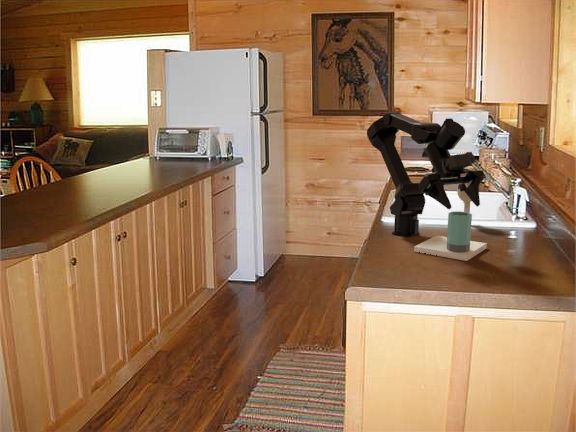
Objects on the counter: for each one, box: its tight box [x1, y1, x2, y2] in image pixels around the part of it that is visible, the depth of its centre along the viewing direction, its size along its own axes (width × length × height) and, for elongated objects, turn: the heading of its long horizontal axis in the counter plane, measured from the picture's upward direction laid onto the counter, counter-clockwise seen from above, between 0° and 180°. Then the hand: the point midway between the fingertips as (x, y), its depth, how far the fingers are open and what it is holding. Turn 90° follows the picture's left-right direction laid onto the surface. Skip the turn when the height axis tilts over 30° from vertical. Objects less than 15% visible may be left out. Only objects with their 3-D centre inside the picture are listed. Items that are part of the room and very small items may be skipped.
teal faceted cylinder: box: [446, 211, 473, 253], centre depth 166 cm, size 6×6×10 cm
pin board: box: [413, 235, 488, 262], centre depth 172 cm, size 15×15×5 cm
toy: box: [456, 184, 472, 214], centre depth 202 cm, size 9×7×15 cm
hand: (464, 207), depth 164 cm, fingers open, 9 cm apart
